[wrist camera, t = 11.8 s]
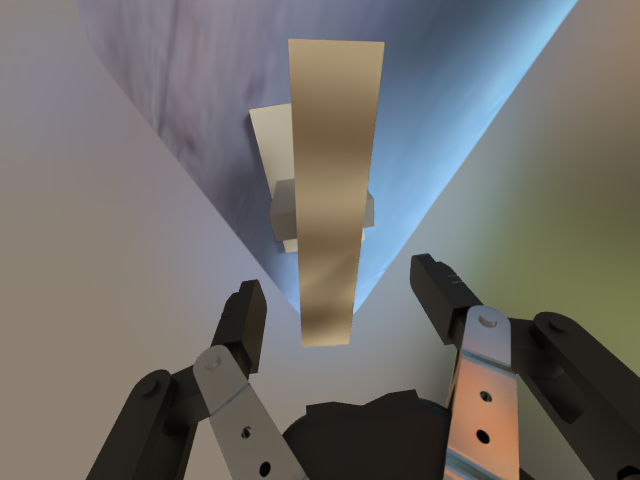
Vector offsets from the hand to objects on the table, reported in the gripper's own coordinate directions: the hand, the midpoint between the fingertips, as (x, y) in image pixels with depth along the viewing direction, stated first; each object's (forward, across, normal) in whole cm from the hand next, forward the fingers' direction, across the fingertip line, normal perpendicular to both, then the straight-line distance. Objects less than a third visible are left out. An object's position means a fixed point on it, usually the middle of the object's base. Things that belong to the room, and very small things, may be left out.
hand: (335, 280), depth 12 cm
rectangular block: (+7, 0, 0) cm, 7 cm away
